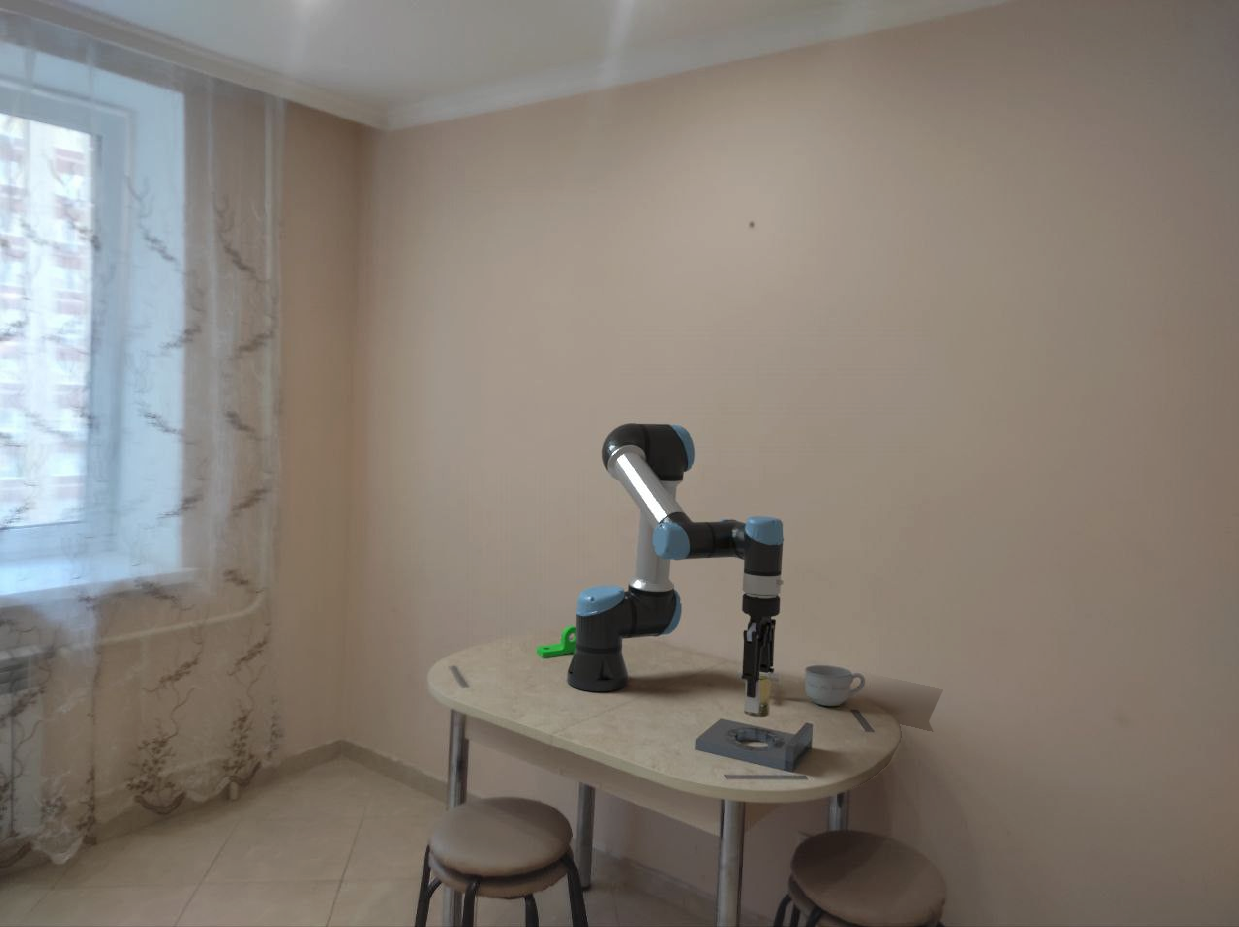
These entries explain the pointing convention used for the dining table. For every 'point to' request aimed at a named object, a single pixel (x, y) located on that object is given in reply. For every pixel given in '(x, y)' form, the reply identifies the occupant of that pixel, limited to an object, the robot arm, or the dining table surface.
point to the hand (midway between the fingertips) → (756, 707)
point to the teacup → (830, 684)
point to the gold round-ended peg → (762, 697)
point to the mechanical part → (560, 645)
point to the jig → (779, 753)
